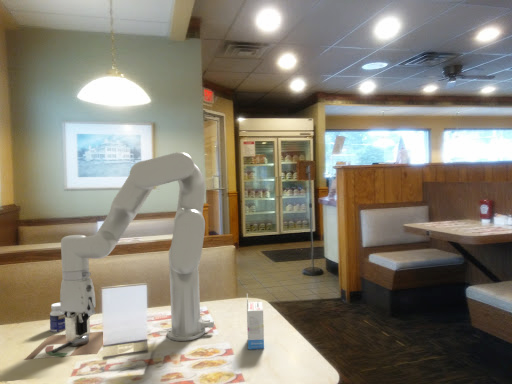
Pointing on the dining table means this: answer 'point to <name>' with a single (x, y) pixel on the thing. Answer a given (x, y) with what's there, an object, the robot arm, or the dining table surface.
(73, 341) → the white piece
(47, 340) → the brown flat square slab
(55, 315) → the pill bottle
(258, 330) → the ink box
